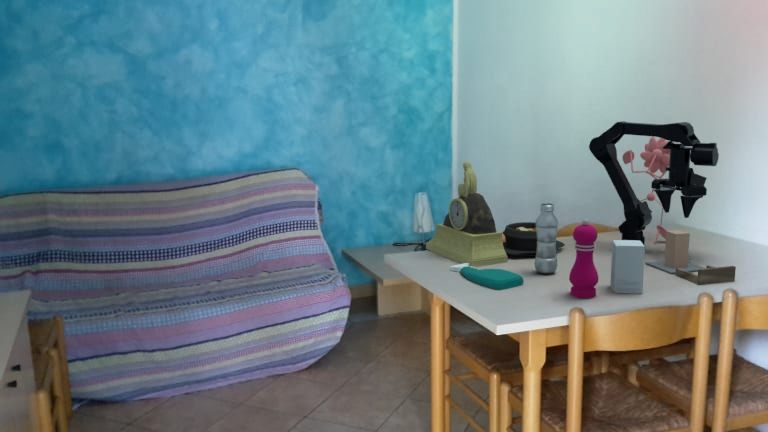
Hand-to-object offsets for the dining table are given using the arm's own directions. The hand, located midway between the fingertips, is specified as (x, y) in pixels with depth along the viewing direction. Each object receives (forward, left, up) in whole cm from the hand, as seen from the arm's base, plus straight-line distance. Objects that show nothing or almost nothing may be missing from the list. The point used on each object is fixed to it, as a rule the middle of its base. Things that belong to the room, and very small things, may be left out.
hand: (676, 215), depth 215 cm
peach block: (-1, -13, -12) cm, 18 cm away
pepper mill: (-28, -46, -13) cm, 55 cm away
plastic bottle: (-38, -26, -13) cm, 48 cm away
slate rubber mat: (-1, -13, -13) cm, 19 cm away
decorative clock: (-64, -9, -13) cm, 66 cm away
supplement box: (-17, -39, -13) cm, 45 cm away
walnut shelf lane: (+5, -24, -13) cm, 28 cm away
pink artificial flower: (-3, +25, -13) cm, 28 cm away
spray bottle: (-55, -34, -14) cm, 66 cm away
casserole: (-44, -1, -13) cm, 46 cm away
